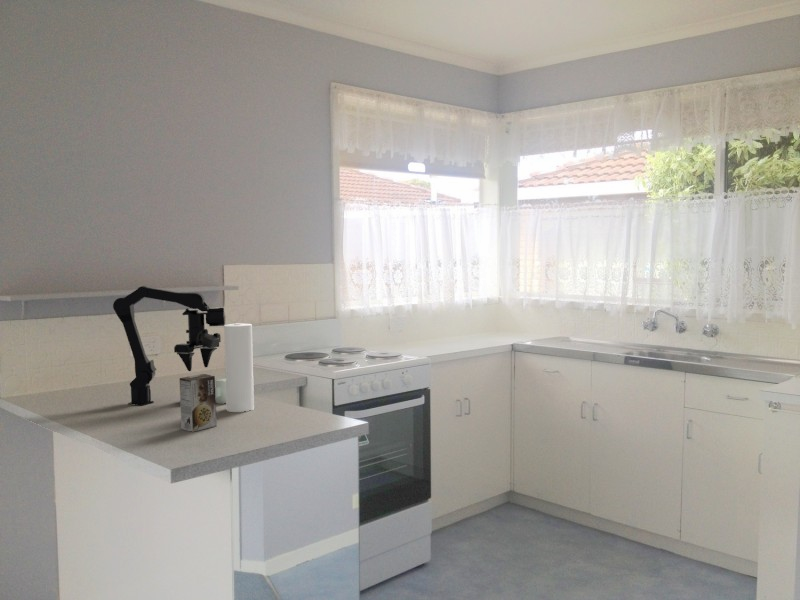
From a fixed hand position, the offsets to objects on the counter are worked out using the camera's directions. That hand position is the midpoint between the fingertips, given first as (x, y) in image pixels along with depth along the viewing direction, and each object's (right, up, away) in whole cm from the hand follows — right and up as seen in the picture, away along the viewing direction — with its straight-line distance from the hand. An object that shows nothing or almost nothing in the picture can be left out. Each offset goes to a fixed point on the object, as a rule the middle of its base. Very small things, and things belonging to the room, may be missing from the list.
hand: (198, 369), depth 267 cm
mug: (+10, -12, -1) cm, 16 cm away
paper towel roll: (+19, -13, -14) cm, 27 cm away
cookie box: (+11, -15, -40) cm, 44 cm away
